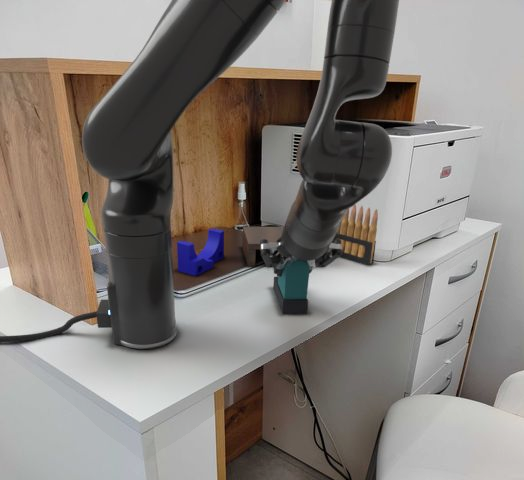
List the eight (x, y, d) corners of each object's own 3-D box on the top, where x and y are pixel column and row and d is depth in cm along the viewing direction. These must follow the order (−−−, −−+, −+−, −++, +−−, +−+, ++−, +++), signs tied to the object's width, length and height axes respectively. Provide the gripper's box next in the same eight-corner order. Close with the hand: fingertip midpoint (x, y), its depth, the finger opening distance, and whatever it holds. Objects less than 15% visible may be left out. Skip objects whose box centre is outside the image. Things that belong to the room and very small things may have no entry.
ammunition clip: (373, 263, 110) (382, 209, 104) (369, 265, 109) (378, 210, 103) (332, 251, 116) (339, 199, 110) (328, 253, 115) (334, 200, 108)
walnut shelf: (247, 266, 105) (248, 243, 102) (242, 247, 115) (242, 226, 113) (321, 266, 107) (323, 244, 104) (309, 247, 117) (311, 227, 115)
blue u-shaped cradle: (195, 276, 99) (195, 247, 96) (178, 271, 101) (177, 242, 98) (229, 259, 108) (229, 232, 105) (212, 254, 110) (212, 228, 107)
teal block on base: (282, 314, 86) (286, 262, 81) (273, 288, 96) (276, 240, 91) (306, 313, 87) (312, 262, 82) (295, 288, 96) (299, 240, 91)
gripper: (356, 202, 74) (327, 252, 91) (262, 201, 72) (250, 252, 89) (361, 248, 72) (331, 290, 89) (265, 248, 71) (252, 291, 87)
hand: (291, 271), depth 89 cm, fingers closed on teal block on base, 4 cm apart
